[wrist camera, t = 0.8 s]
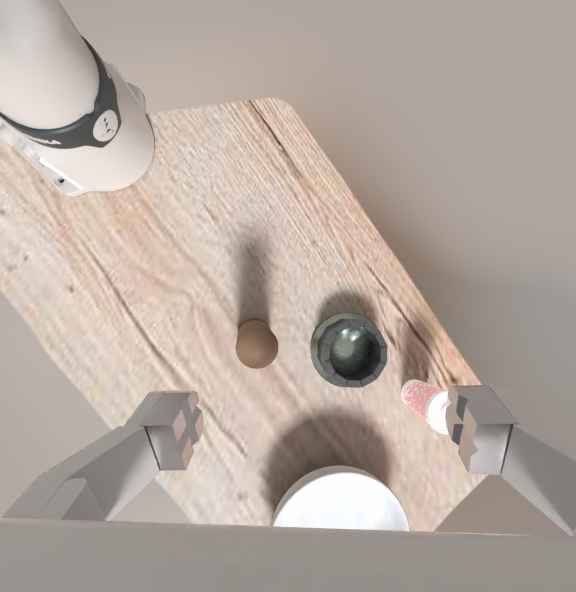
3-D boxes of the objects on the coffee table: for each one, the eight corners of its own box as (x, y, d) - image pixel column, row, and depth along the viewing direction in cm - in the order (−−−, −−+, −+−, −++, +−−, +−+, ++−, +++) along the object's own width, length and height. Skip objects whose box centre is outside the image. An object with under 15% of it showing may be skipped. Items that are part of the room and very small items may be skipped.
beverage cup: (389, 393, 52) (442, 429, 38) (413, 367, 53) (474, 392, 39) (413, 418, 53) (474, 462, 39) (437, 392, 53) (505, 425, 39)
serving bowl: (394, 451, 52) (417, 474, 45) (382, 577, 52) (403, 619, 45) (271, 447, 49) (275, 471, 42) (258, 580, 49) (260, 626, 42)
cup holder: (296, 361, 50) (301, 367, 46) (336, 298, 51) (344, 298, 47) (356, 399, 51) (366, 408, 47) (394, 337, 52) (407, 341, 48)
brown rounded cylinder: (231, 340, 48) (227, 354, 36) (249, 312, 49) (251, 318, 37) (258, 356, 49) (263, 376, 37) (276, 329, 49) (286, 340, 37)
